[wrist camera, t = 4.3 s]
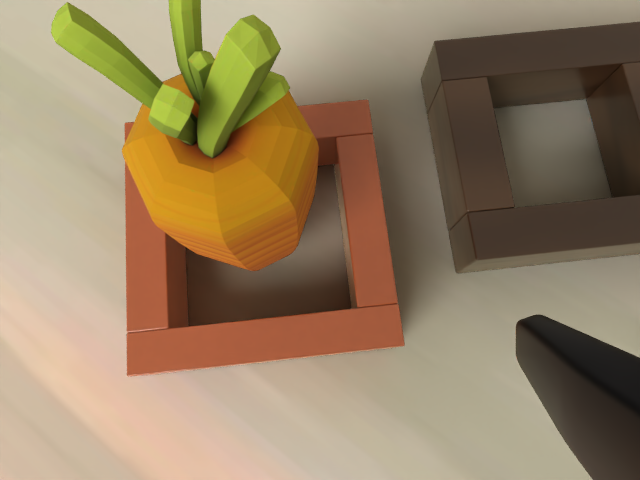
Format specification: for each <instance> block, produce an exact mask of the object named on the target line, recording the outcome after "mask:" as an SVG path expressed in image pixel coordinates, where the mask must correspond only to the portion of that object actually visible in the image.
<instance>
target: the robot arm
mask: <svg viewBox="0 0 640 480" xmlns="http://www.w3.org/2000/svg"><path fill="white" fill-rule="evenodd" d="M516 356H517V360H518V362H519V365H520V367H521V368H522V370H523V372H524V373H525V375H526V377H527V378H528V380H529V382H530V384H531V385H532V387H533V389H534V390H535V392H536V394H537V395H538V397H539V399H540V400H541V402H542V404H543V406H544V407H545V409H546V411H547V412H548V414H549V416H550V417H551V419H552V421H553V422H554V424H555V426H556V428H557V429H558V431H559V432H560V434H561V436H562V437H563V439H564V440H565V442H566V443H567V445H568V446H569V448H570V449H571V451H572V452H573V453H574V455H575V456H576V457H577V459H578V460H579V462H580V463H581V464H582V466H583V467H584V468H585V470H586V471H587V472H588V474H589V475H590V476H591V478H592V479H593V480H640V358H639V357H637V356H635V355H632V354H630V353H628V352H625V351H623V350H621V349H619V348H616V347H614V346H612V345H609V344H607V343H605V342H603V341H600V340H598V339H596V338H593V337H591V336H589V335H587V334H584V333H582V332H580V331H578V330H575V329H573V328H571V327H568V326H566V325H564V324H562V323H559V322H557V321H555V320H552V319H550V318H548V317H546V316H543V315H534V316H530V317H527V318H524V319H521V320H519V321H518V322H517V324H516Z"/></svg>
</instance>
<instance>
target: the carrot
mask: <svg viewBox="0 0 640 480" xmlns="http://www.w3.org/2000/svg"><path fill="white" fill-rule="evenodd" d="M169 14H170V21H171V28H172V35H173V41H174V46H175V51H176V56H177V62H178V66H179V68H180V71H181V73H182V74H180V75H177V76H175V77H173V78H171V79H168V80H166V81H164V82H161V81H160V80H159V79H158V78H157V77H156V76H155V75H154V74H153V73H152V72H151V71H150V70H149V69H148V68H147V67H146V66H145V65H144V64H143V63H142V62H141V61H140V60H139V59H138V58H137V57H136V56H135V55H134V54H133V53H132V52H131V51H130V50H129V49H128V48H127V47H126V46H125V45H124V44H123V43H122V42H121V41H120V40H119V39H118V38H117V37H116V36H115V35H113V34H112V33H111V32H110V31H108V30H107V29H106V28H104V27H103V26H102V25H101V24H99V23H98V22H97V21H96V20H94V19H93V18H92V17H91V16H89V15H88V14H86V13H85V12H83V11H81V10H80V9H78V8H76V7H75V6H73V5H71V4H70V3H68V2H67V3H66V4H65V5H64V6H62V7H61V8H60V9H59V10H58V11H57V13H56V15H55V18H54V20H53V22H52V29H51V34H52V36H53V38H54V40H55V42H56V43H57V44H58V45H60V46H61V47H62V48H64V49H65V50H67V51H68V52H69V53H71V54H72V55H73V56H75V57H76V58H78V59H80V60H81V61H83V62H84V63H86V64H87V65H89V66H91V67H92V68H94V69H95V70H97V71H98V72H100V73H101V74H103V75H104V76H106V77H107V78H108V79H110V80H111V81H113V82H114V83H115V84H117V85H118V86H119V87H121V88H122V89H124V90H125V91H126V92H128V93H129V94H130V95H132V96H133V97H135V98H136V99H137V100H139V101H140V102H142V103H143V104H142V106H141V108H140V111H139V113H138V115H137V117H136V120H135V122H134V124H133V126H132V129H131V131H130V133H129V135H128V137H127V140H126V142H125V144H124V146H123V149H122V153H123V157H124V159H125V162H126V164H127V166H128V168H129V170H130V173H131V175H132V177H133V179H134V181H135V184H136V186H137V188H138V190H139V192H140V194H141V197H142V199H143V201H144V203H145V205H146V208H147V210H148V212H149V214H150V216H151V219H152V221H153V222H154V223H155V225H156V226H157V227H158V228H160V229H161V230H163V231H164V232H165V233H167V234H168V235H169V236H171V237H172V238H173V239H175V240H176V241H177V242H179V243H180V244H182V245H183V246H185V247H187V248H188V249H190V250H192V251H193V252H195V253H196V254H199V255H202V256H205V257H208V258H212V259H215V260H218V261H221V262H224V263H228V264H231V265H234V266H237V267H240V268H244V269H247V270H251V271H258V270H260V269H262V268H264V267H266V266H268V265H270V264H272V263H274V262H276V261H278V260H280V259H282V258H284V257H286V256H288V255H290V254H291V253H292V252H293V251H294V250H295V249H296V247H297V246H298V243H299V240H300V237H301V234H302V231H303V228H304V225H305V222H306V219H307V216H308V213H309V210H310V207H311V204H312V201H313V198H314V193H315V186H316V179H317V168H318V153H319V147H318V142H317V140H316V138H315V136H314V135H313V133H312V131H311V129H310V128H309V126H308V124H307V122H306V121H305V119H304V117H303V115H302V114H301V112H300V110H299V108H298V106H297V105H296V103H295V101H294V99H293V98H292V96H291V94H290V92H289V91H288V90H289V89H290V87H289V85H288V83H287V81H286V80H285V78H284V76H281V75H279V74H276V73H274V72H271V71H270V69H271V67H272V65H273V63H274V61H275V59H276V57H277V55H278V53H279V51H280V50H281V48H280V46H279V44H278V42H277V40H276V38H275V36H274V34H273V32H272V30H271V28H270V27H269V26H267V25H266V24H265V23H264V22H262V21H261V20H260V19H258V18H257V17H256V16H255V15H251V16H248V17H245V18H242V19H240V20H239V21H238V22H237V23H236V24H235V25H234V26H233V27H232V28H231V30H230V31H229V32H228V33H227V34H226V36H225V38H224V40H223V42H222V45H221V47H220V49H219V51H218V54H217V56H216V58H215V59H214V58H213V56H212V54H211V53H210V52H207V51H203V49H202V34H201V0H169ZM269 71H270V72H269Z"/></svg>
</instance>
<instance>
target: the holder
mask: <svg viewBox="0 0 640 480" xmlns="http://www.w3.org/2000/svg"><path fill="white" fill-rule="evenodd" d="M298 108H299V110H300V112H301V114H302V115H303V117H304V119H305V121H306V122H307V124H308V126H309V128H310V129H311V131H312V133H313V135H314V136H315V138H316V140H317V142H318V147H319V153H318V166H322V165H332V164H334V171H335V180H336V188H337V196H338V204H339V212H340V220H341V228H342V236H343V244H344V252H345V260H346V268H347V276H348V284H349V292H350V300H351V308H352V309H344V310H335V311H325V312H316V313H307V314H298V315H289V316H280V317H270V318H261V319H252V320H243V321H234V322H225V323H215V324H206V325H197V326H189V322H188V298H187V274H186V249H185V246H183V245H182V244H180V243H179V242H177V241H176V240H175V239H173V238H172V237H171V236H169V235H168V234H167V233H165V232H164V231H163V230H161V229H160V228H158V227H157V226H156V225H155V223H154V222H153V221H152V219H151V216H150V214H149V212H148V210H147V208H146V205H145V203H144V201H143V199H142V197H141V194H140V192H139V190H138V188H137V186H136V184H135V181H134V179H133V177H132V175H131V173H130V170H129V168H128V166H127V164H126V162H125V198H126V297H127V376H128V377H131V376H144V375H156V374H165V373H174V372H183V371H192V370H201V369H210V368H219V367H228V366H237V365H246V364H255V363H264V362H273V361H282V360H291V359H300V358H309V357H318V356H327V355H336V354H345V353H354V352H362V351H371V350H380V349H389V348H396V347H401V346H404V345H405V343H404V337H403V330H402V323H401V316H400V310H399V304H397V303H398V297H397V291H396V284H395V277H394V270H393V264H392V257H391V250H390V243H389V237H388V230H387V223H386V216H385V210H384V203H383V196H382V189H381V183H380V176H379V169H378V162H377V156H376V149H375V142H374V136H373V128H372V121H371V114H370V108H369V101H368V100H356V101H346V102H335V103H325V104H315V105H304V106H298ZM133 124H134V122H128V123H125V142H126V140H127V137H128V135H129V133H130V131H131V129H132V126H133Z"/></svg>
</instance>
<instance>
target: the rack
mask: <svg viewBox="0 0 640 480" xmlns="http://www.w3.org/2000/svg"><path fill="white" fill-rule="evenodd" d="M421 83H422V89H423V94H424V100H425V105H426V111H427V114H428V115H427V116H428V121H429V127H430V132H431V138H432V143H433V149H434V154H435V160H436V165H437V171H438V177H439V182H440V188H441V193H442V199H443V204H444V210H445V215H446V221H447V226H448V230H449V237H450V243H451V248H452V254H453V259H454V265H455V270H456V273H466V272H475V271H484V270H494V269H503V268H512V267H522V266H531V265H540V264H550V263H559V262H568V261H577V260H587V259H596V258H605V257H615V256H624V255H633V254H640V22H633V23H622V24H611V25H601V26H590V27H579V28H569V29H558V30H547V31H536V32H526V33H515V34H504V35H494V36H483V37H472V38H462V39H451V40H440V41H434V44H433V47H432V50H431V52H430V55H429V58H428V61H427V63H426V66H425V69H424V72H423V75H422V77H421ZM579 99H587V104H588V108H589V111H590V115H591V119H592V122H593V126H594V130H595V133H596V137H597V141H598V144H599V148H600V152H601V155H602V159H603V163H604V166H605V170H606V174H607V178H608V181H609V185H610V189H611V192H612V196H613V197H612V198H603V199H593V200H584V201H574V202H564V203H555V204H545V205H535V206H526V207H516V208H514V207H515V204H514V200H513V195H512V190H511V186H510V181H509V177H508V172H507V168H506V163H505V158H504V154H503V149H502V145H501V140H500V135H499V131H498V126H497V122H496V117H495V113H494V108H497V107H507V106H517V105H528V104H538V103H548V102H558V101H568V100H579Z"/></svg>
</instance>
